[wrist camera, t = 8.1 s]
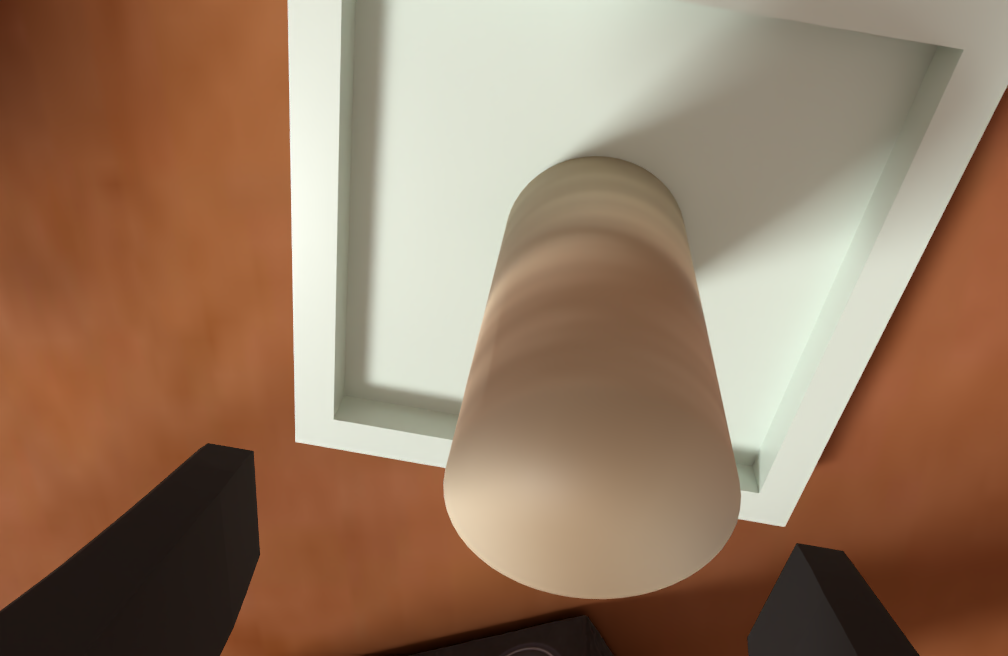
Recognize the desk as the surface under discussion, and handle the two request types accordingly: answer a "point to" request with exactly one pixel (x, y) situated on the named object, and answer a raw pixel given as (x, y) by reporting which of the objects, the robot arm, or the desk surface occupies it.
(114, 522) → the robot arm
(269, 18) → the desk surface
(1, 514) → the desk surface
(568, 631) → the graphics card box
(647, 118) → the tray
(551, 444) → the peg
